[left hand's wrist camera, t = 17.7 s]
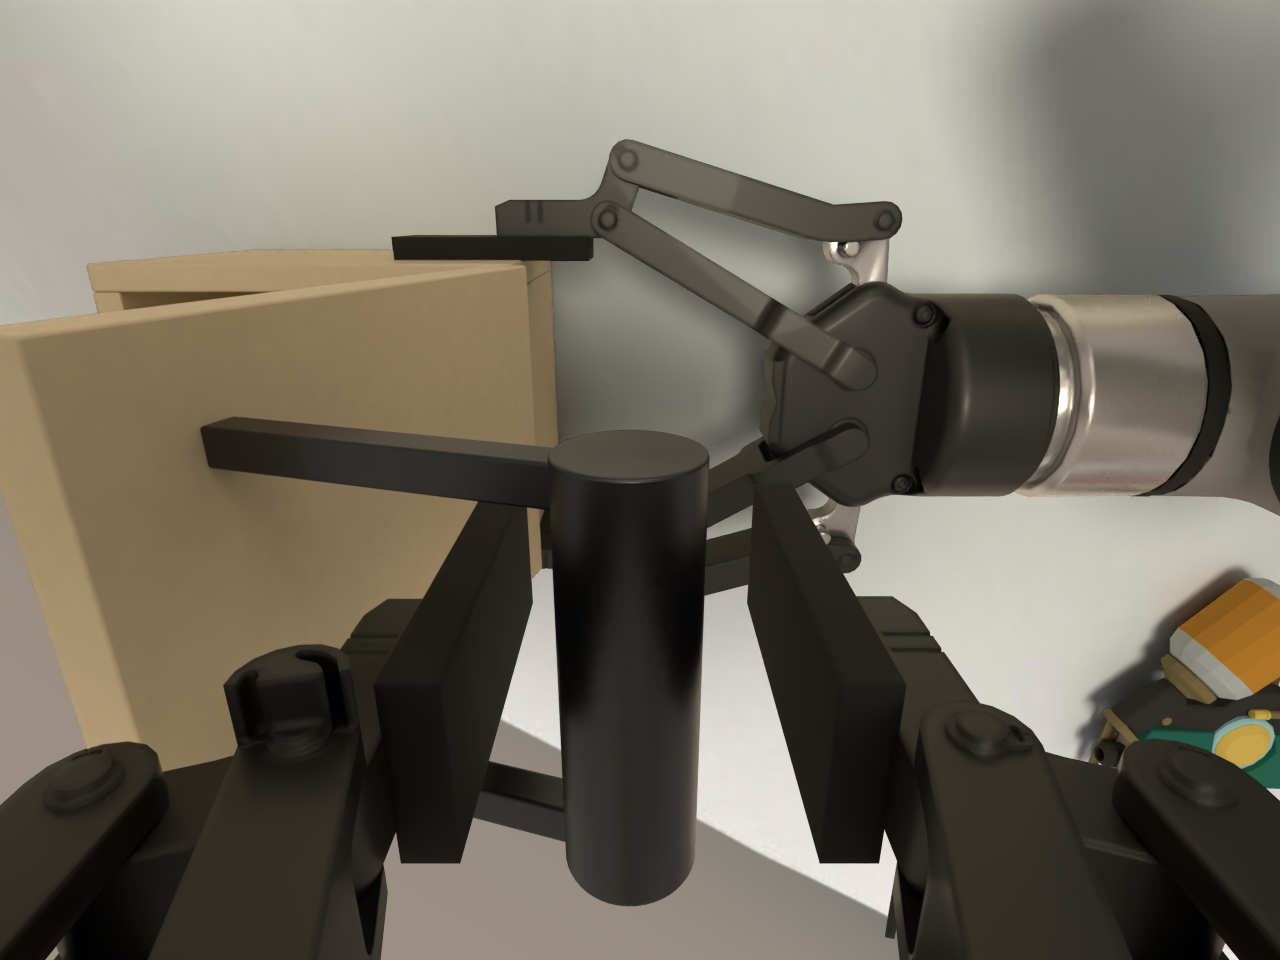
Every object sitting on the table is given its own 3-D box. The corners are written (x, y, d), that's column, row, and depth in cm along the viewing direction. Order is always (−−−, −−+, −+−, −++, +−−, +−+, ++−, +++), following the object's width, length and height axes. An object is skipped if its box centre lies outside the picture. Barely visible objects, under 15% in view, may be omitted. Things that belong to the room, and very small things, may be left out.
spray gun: (1457, 617, 38) (1269, 811, 44) (1214, 524, 35) (1044, 744, 41) (1553, 668, 34) (1334, 874, 40) (1290, 568, 31) (1091, 805, 37)
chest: (291, 464, 35) (160, 557, 25) (252, 249, 31) (84, 263, 22) (559, 464, 35) (529, 557, 25) (550, 249, 31) (512, 264, 22)
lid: (141, 916, 12) (649, 1098, 10) (-56, 331, 9) (654, 377, 6) (511, 563, 25) (775, 603, 22) (490, 264, 21) (801, 271, 19)
